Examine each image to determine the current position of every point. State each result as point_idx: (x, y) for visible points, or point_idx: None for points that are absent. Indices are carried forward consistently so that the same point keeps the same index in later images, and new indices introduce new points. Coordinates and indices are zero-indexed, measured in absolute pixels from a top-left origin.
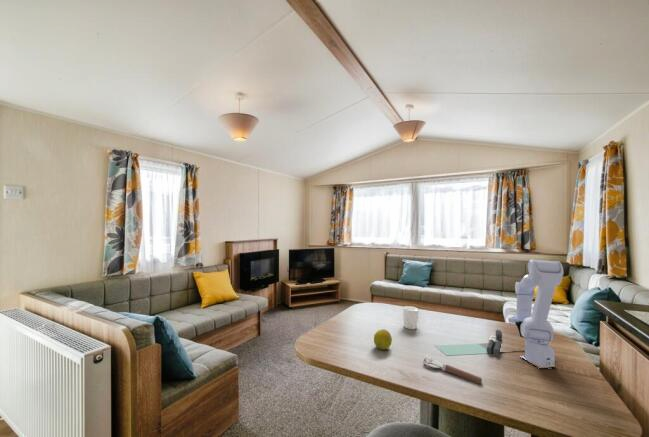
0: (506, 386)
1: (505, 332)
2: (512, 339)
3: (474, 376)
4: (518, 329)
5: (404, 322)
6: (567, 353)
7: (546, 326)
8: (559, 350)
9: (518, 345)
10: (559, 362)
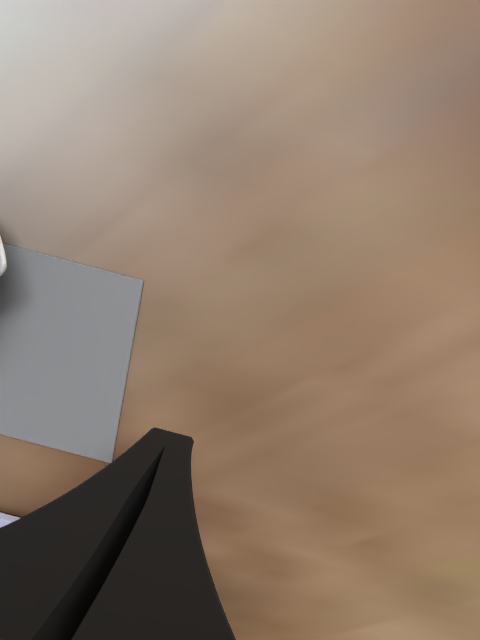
0: None
1: (442, 11)
2: (270, 235)
3: None
4: (81, 487)
5: None
6: (444, 606)
7: None
8: (452, 560)
9: (173, 362)
10: None
